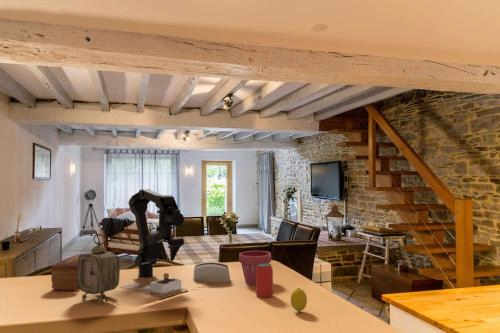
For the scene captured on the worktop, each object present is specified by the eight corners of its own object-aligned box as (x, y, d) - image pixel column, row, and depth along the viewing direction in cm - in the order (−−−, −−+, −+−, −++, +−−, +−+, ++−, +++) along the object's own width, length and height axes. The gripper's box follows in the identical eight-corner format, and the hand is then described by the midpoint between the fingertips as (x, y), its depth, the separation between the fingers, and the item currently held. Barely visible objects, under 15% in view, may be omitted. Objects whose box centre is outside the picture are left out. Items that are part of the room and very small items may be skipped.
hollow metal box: (150, 292, 147) (150, 282, 147) (169, 287, 155) (169, 277, 156) (162, 295, 143) (162, 285, 143) (181, 289, 151) (181, 279, 152)
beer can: (275, 294, 148) (274, 263, 148) (270, 298, 141) (270, 266, 142) (259, 292, 150) (258, 262, 150) (253, 297, 143) (253, 265, 144)
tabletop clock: (77, 299, 142) (78, 233, 144) (98, 294, 150) (99, 231, 151) (99, 306, 134) (100, 236, 135) (121, 299, 142) (121, 233, 143)
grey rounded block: (230, 279, 172) (230, 259, 169) (230, 285, 168) (229, 265, 165) (194, 279, 173) (193, 259, 170) (192, 285, 168) (191, 265, 165)
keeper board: (119, 289, 156) (119, 269, 156) (146, 282, 167) (146, 264, 168) (160, 300, 141) (160, 278, 141) (187, 291, 152) (187, 271, 152)
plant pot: (234, 284, 163) (234, 254, 163) (246, 277, 176) (246, 249, 176) (265, 287, 157) (264, 256, 158) (275, 279, 170) (275, 251, 171)
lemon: (289, 309, 129) (288, 286, 129) (305, 308, 129) (304, 285, 130) (292, 315, 123) (292, 290, 124) (308, 314, 124) (308, 290, 124)
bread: (45, 292, 153) (45, 262, 154) (80, 276, 181) (80, 250, 182) (77, 292, 152) (78, 262, 153) (108, 276, 180) (108, 250, 181)
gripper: (137, 224, 164) (136, 260, 163) (165, 227, 152) (164, 266, 152) (157, 222, 173) (156, 256, 172) (185, 225, 161) (184, 261, 161)
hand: (164, 259), depth 164 cm, fingers open, 9 cm apart
